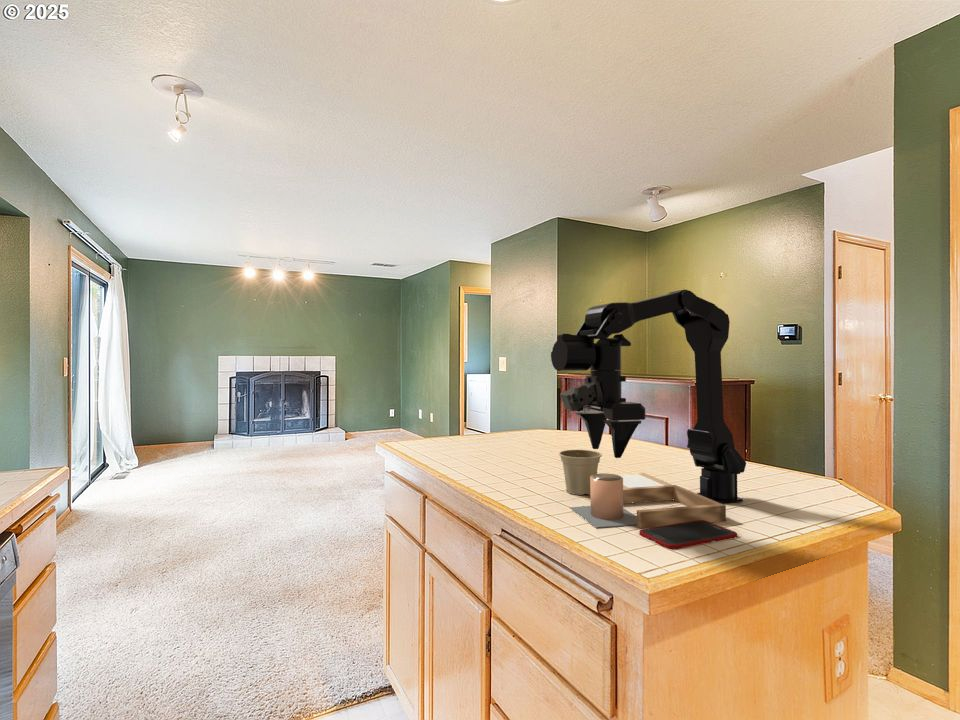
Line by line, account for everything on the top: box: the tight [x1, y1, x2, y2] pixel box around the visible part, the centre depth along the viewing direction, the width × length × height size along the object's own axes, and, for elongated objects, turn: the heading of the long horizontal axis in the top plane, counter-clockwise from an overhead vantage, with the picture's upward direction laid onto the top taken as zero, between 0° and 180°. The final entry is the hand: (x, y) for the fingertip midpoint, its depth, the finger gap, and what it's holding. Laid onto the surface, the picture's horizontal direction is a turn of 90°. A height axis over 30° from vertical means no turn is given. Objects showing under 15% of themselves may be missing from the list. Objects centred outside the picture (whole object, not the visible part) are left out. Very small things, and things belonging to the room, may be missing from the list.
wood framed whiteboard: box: [620, 472, 673, 488], centre depth 114 cm, size 17×12×1 cm
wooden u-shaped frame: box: [623, 484, 727, 529], centre depth 95 cm, size 17×15×3 cm
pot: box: [590, 472, 624, 520], centre depth 92 cm, size 6×6×7 cm
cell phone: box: [638, 520, 738, 550], centre depth 82 cm, size 8×15×1 cm, turn 111°
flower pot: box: [558, 449, 603, 496], centre depth 110 cm, size 9×9×9 cm
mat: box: [569, 505, 637, 529], centre depth 92 cm, size 10×12×1 cm
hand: (606, 453), depth 92 cm, fingers open, 9 cm apart
